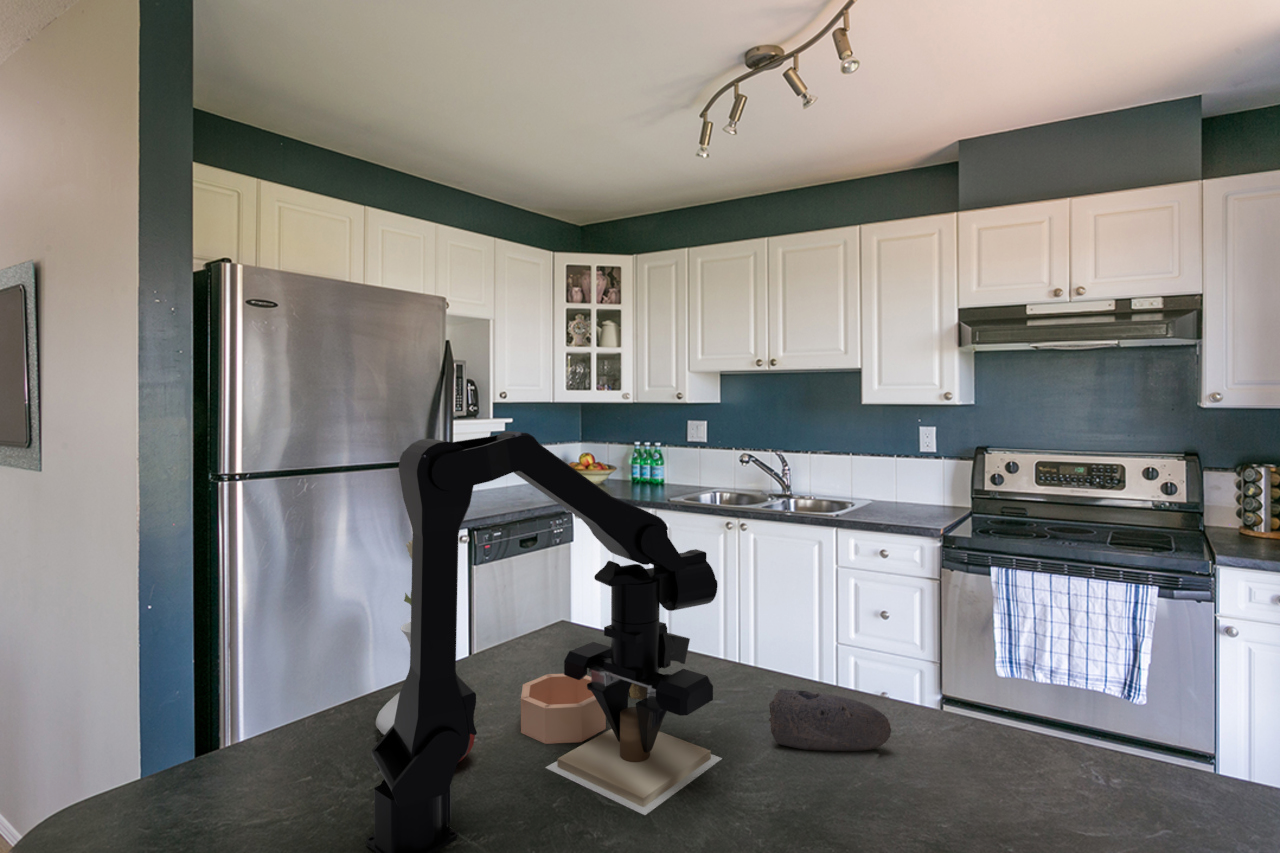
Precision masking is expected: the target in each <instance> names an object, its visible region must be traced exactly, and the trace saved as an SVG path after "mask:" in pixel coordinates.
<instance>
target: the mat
mask: <svg viewBox="0 0 1280 853" xmlns="http://www.w3.org/2000/svg"><path fill="white" fill-rule="evenodd" d="M722 759H723V757H720V756H718V755H715V754H712V753H711V759H710V760H708V761H707V762H706V763H704V764H703V765H701V766H700V767H699V768H697V769H696V770H695V771H693V772H692V773H690V774H689V775H688V776H686V777H685V778H683V779H682V780H681V781H679V782H678V783H676V784H675V785H674V786H672V787H671V788H669V789H668V790H667V791H665V792H664V793H663V794H661V795H660V796H658V797H657V798H656V799H654V800H653V801H651V802H650V803H649V804H647V805H646V806H644V807H642V806H640V805H638V804H636V803H633V802H631V801H629V800H627V799H625V798H623V797H621V796H619V795H616V794H614V793H612V792H610V791H608V790H606V789H604V788H602V787H599V786H597V785H595V784H593V783H591V782H589V781H587V780H584V779H582V778H580V777H578V776H576V775H574V774H572V773H570V772H567V771H565V770H563V769H561V768H559V767H557V761H555V762H553V763H550V764H549V765H547V766H545V767H544V768H545V769H547V770H549V771H551V772H553V773H555V774H557V775H560V776H562V777H564V778H566V779H568V780H570V781H572V782H574V783H577V784H579V785H581V786H583V787H584V788H587V789H588V790H590V791H593V792H595V793H597V794H599V795H601V796H604V797H605V798H608V799H610V800H612V801H614V802H616V803H618V804H620V805H622V806H624V807H627V808H628V809H631V810H632V811H635V812H637V813H639V814H641V815H643V816H646V815H648V814H649V813H650V812H652V811H653V810H654V809H655V808H657V807H659V806H660V805H661V804H663V803H664V802H665V801H667V800H668V799H670V798H671V797H672V796H673V795H675V794H676V793H677V792H679V791H680V790H681V789H683V788H685V787H686V786H687V785H688V784H690V783H691V782H693V781H694V780H696V779H697V778H698V777H699V776H700V775H702V774H703V773H705V772H706V771H707V770H709V769H710V768H712V767H713V766H715V765H716V764H717V763H718V762H720V761H721V760H722Z"/></svg>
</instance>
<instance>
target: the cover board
mask: <svg viewBox="0 0 1280 853" xmlns="http://www.w3.org/2000/svg"><path fill="white" fill-rule="evenodd" d="M711 752H712V751H711V750H710V749H707V748H705V747H702V746H700V745H697V744H694V743H691V742H689V741H686V740H683V739H682V738H678V737H676V736H672V735H670V734H667V733H665V732H662V731H660V730H659V732H658V734H657V737H656V740H655V743H654V745H653V748H652V750H651V751H650V752H648V753H645V752H644V750H643V747H642V743H641V737H640V730H639V723H638V717H637V710H636V706H628V708H625V709H623V710H622V711H621V712H620V742H618V740H617V738H616V736H615V734H614V732H613V730H612V728H611V729H609V730H606V731H604V732H603V733H601V734H599V735H597V736H596V737H594V738H592V739H591V740H589V741H586V742H585V743H583V744H581V745H579V746H578V747H575V748H574V749H572V750H570V751H568V752H567V753H565V754H562V756H559V757H557V767H559V768H561V769H563V770H565V771H567V772H570V773H572V774H574V775H576V776H578V777H580V778H582V779H584V780H587V781H589V782H591V783H593V784H595V785H597V786H599V787H602V788H604V789H606V790H608V791H610V792H612V793H614V794H616V795H619V796H621V797H623V798H625V799H627V800H629V801H631V802H633V803H636V804H638V805H640V806H642V807H644V806H646V805H647V804H649V803H650V802H651V801H653V800H654V799H656V798H657V797H658V796H660V795H661V794H663V793H664V792H665V791H667V790H668V789H669V788H671V787H672V786H674V785H675V784H676V783H678V782H679V781H681V780H682V779H683V778H685V777H686V776H688V775H689V774H690V773H692V772H693V771H695V770H696V769H697V768H699V767H700V766H701V765H703V764H704V763H706V762H707V761H708V760H710V759H711V754H712V753H711Z"/></svg>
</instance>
